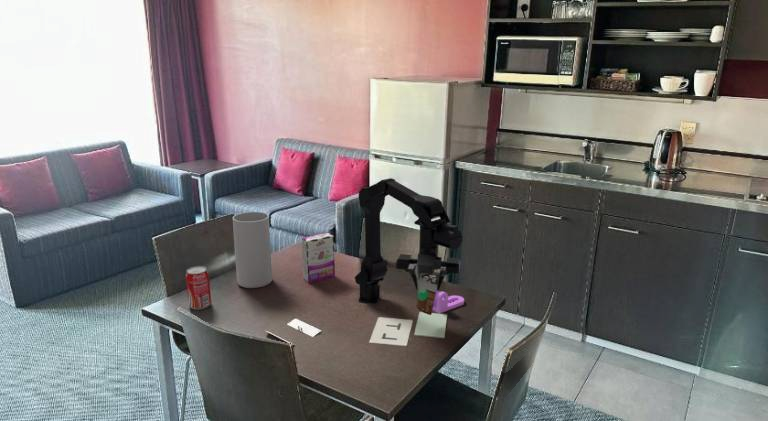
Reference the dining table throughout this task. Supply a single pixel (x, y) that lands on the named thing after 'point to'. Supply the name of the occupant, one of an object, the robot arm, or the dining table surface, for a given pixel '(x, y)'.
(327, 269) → the candy bar box
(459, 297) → the bracket
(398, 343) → the pad
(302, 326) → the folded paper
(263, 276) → the cylinder vase
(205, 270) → the soda can
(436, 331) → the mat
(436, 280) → the food container
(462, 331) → the dining table surface
